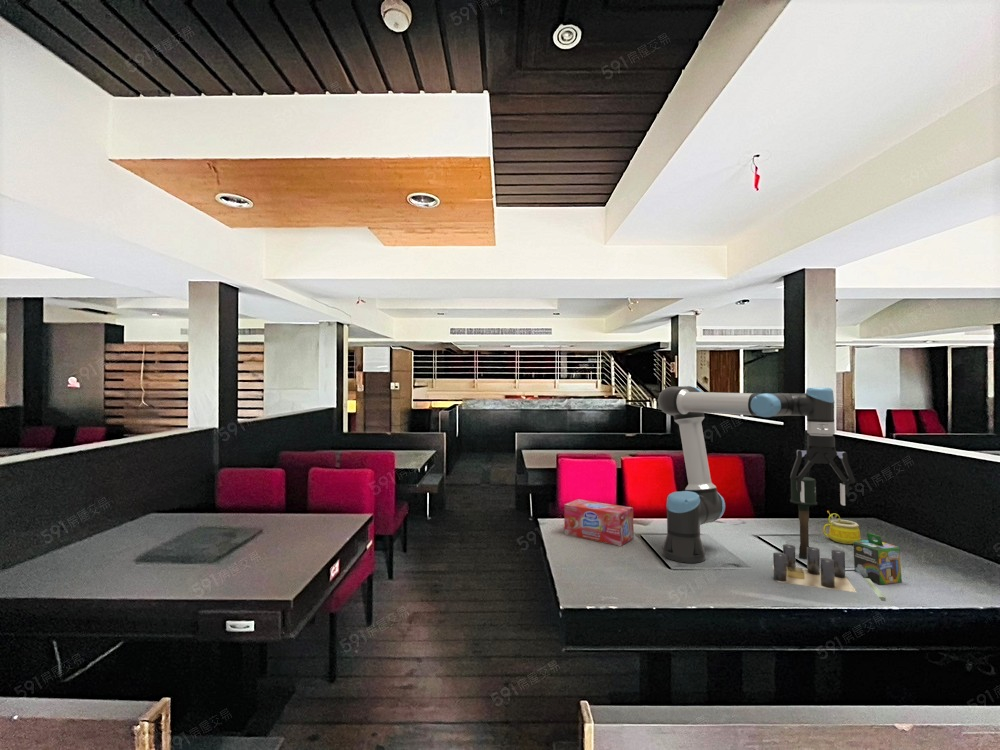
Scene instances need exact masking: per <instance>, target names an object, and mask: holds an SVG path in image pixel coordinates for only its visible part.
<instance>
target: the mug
mask: <svg viewBox="0 0 1000 750" xmlns="http://www.w3.org/2000/svg"><path fill="white" fill-rule="evenodd" d="M826 512H827V514H829V516H828V523H826V524H824V525H823V528H822V529H823V535H824V536H825V537H827V538H828V539H830V540H832V541H834V542H836V543H838V544H839V543H840V544H845V545H853V542H856V541H862V540H861V539H862V537H861V531H860V527H859V526H860V525H859V524H858V523H857V522H855V521H852V520H847V519H841V517H840V515H839V514H838V513H830V510H827V511H826ZM833 515H834V516H833ZM837 517H838V518H837ZM828 526H829V530H828V533H827V532H826V530H827V529H826V528H827V527H828Z"/></svg>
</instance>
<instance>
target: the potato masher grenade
mask: <svg viewBox="0 0 1000 750" xmlns="http://www.w3.org/2000/svg"><path fill="white" fill-rule="evenodd" d="M802 481H803V482H804V500H805V503H803V502H801V500H800V492H799V491H797V487H796V480H793V479H791V478H790V499H789V502H790V503H792V504H795V505H797V507H798V521H799V542H800V543H799V549H798V550H799V551H798V552H799V554H798V558H799V559H802V560H807V547H810V544H809V543H810V541H809V540H810V539H809V521H810V507H811V506H817V505H818V502H817V485H816V484H817V480H816V478H813V477H808V476H805V477H804V478H803V479H802Z"/></svg>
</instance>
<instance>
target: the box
mask: <svg viewBox="0 0 1000 750" xmlns="http://www.w3.org/2000/svg"><path fill="white" fill-rule="evenodd" d="M563 514H564V529H563V530H564V531H563V532H564V535H565V536H570V537H575V538H579V539H583V540H584V539H586V540H591V541H594V542H598V543H599V542H600V543H604V544H609V545H614V546H619V547H621V546H623V545H625V544H627V543H628V542H631V541H633V540H634V537H635V536H634V533H635V532H634V531H635V530H634V508H633V507H631V506H626V505H619V504H613V503H611V504H610V503H606V502H604V503H603V502H597V501H592V500H585V499H579V498H578V499H575V500H572V501H570V502H567V503H564V513H563Z"/></svg>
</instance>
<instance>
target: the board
mask: <svg viewBox="0 0 1000 750" xmlns="http://www.w3.org/2000/svg"><path fill="white" fill-rule="evenodd" d="M771 566H772V569H773V571H774V565H773V564H772V565H771ZM802 569H803V571H804V576H805V579H799V578H791V577H788V575H787V571H786V576H787V581H785V582H782V581H777V580H776V581H777V583H784V584H789V585H798V586H806V587H814V588H821V589H826V590H827V589H828V590H836V591H843V592H851V593H855V594H856V593H858V592H857V591H856V589H855V587H854V586H853V584H851V582H850V580H849V579H848V577H847V576H846V575H845V578H838V577H835V588H827V587H824V586H822V585H821V570H820V574H819V575H814V574H810V573H808V572H807V569H806V568H802ZM863 580H864V581H865V582H866V583H867V584H868V586H869V587H870V588H871V590H872V591H873V592H874V593H875V594H876V596H877V597H878V599H880V601H884V602H886V601H887V600H886V596H885V595H884V593H882V591H881V590H880V589H879V588H878V587H877V586H876V583H874V582H872V581H871V580H870V579H869V578H863Z"/></svg>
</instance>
